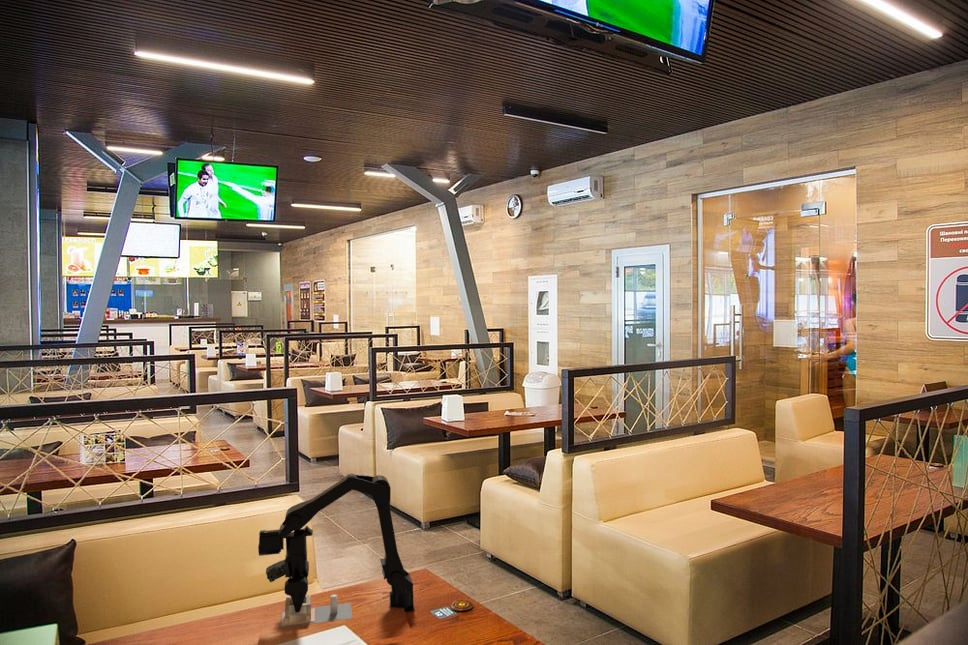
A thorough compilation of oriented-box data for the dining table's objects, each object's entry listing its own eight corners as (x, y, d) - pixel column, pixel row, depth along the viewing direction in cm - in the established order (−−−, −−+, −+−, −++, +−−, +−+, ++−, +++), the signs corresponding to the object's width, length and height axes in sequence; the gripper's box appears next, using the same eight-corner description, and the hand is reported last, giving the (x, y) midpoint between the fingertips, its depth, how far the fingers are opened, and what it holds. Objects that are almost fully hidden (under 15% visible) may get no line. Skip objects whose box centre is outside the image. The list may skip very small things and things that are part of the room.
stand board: (350, 605, 201) (350, 586, 200) (352, 621, 190) (351, 601, 190) (281, 614, 196) (281, 595, 196) (279, 631, 185) (278, 610, 185)
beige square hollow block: (311, 609, 196) (310, 594, 196) (310, 620, 189) (310, 604, 189) (286, 612, 194) (286, 597, 194) (285, 623, 187) (284, 607, 187)
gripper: (269, 544, 199) (271, 596, 199) (264, 566, 180) (266, 623, 181) (308, 540, 201) (309, 591, 201) (307, 561, 183) (308, 617, 183)
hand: (298, 605), depth 192 cm, fingers open, 9 cm apart
